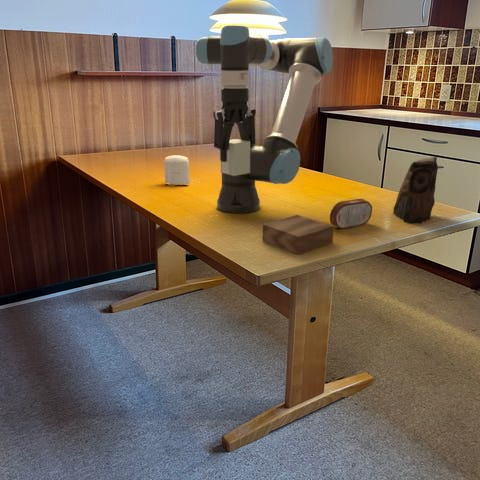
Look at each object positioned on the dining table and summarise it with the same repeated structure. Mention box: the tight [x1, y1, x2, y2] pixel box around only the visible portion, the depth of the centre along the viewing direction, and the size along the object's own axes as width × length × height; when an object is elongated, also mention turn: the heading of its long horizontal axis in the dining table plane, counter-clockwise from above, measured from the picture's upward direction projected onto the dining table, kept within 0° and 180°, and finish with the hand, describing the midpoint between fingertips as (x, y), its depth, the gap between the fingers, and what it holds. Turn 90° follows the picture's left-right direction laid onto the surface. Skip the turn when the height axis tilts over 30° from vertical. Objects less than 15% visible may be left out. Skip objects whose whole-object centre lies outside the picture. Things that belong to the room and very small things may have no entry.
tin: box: [329, 198, 373, 230], centre depth 151 cm, size 15×3×8 cm, turn 118°
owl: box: [392, 156, 439, 225], centre depth 156 cm, size 13×13×20 cm
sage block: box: [220, 138, 250, 176], centre depth 139 cm, size 6×6×9 cm
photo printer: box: [163, 154, 190, 185], centre depth 201 cm, size 10×4×12 cm, turn 84°
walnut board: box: [262, 214, 335, 255], centre depth 138 cm, size 14×14×5 cm
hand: (235, 171), depth 141 cm, fingers closed on sage block, 6 cm apart
